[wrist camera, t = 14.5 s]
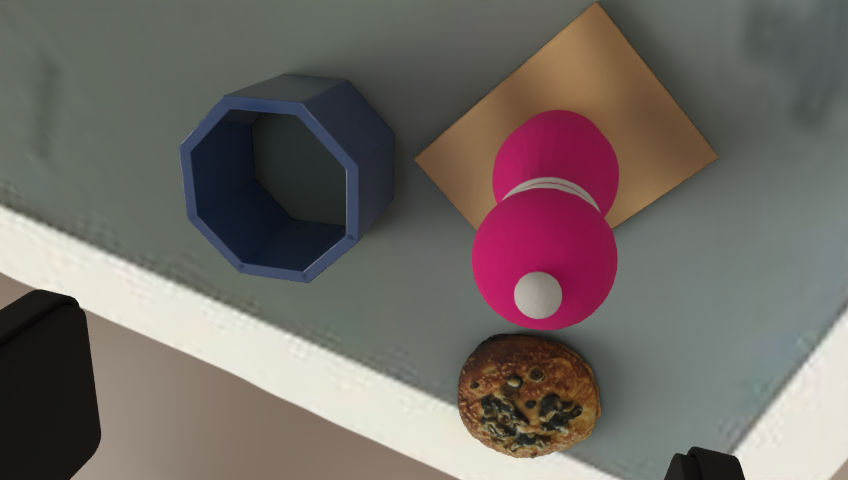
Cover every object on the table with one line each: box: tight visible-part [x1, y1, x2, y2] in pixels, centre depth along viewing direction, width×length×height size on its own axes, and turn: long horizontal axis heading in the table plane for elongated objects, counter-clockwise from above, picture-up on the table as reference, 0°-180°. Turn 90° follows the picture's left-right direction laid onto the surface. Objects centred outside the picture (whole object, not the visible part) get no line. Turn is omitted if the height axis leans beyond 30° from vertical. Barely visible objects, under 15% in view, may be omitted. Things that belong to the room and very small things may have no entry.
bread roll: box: [458, 334, 601, 458], centre depth 48 cm, size 11×11×5 cm
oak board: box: [414, 1, 718, 231], centre depth 42 cm, size 15×12×1 cm
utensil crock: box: [179, 75, 395, 283], centre depth 43 cm, size 12×12×8 cm
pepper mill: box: [472, 110, 619, 330], centre depth 32 cm, size 7×7×20 cm
